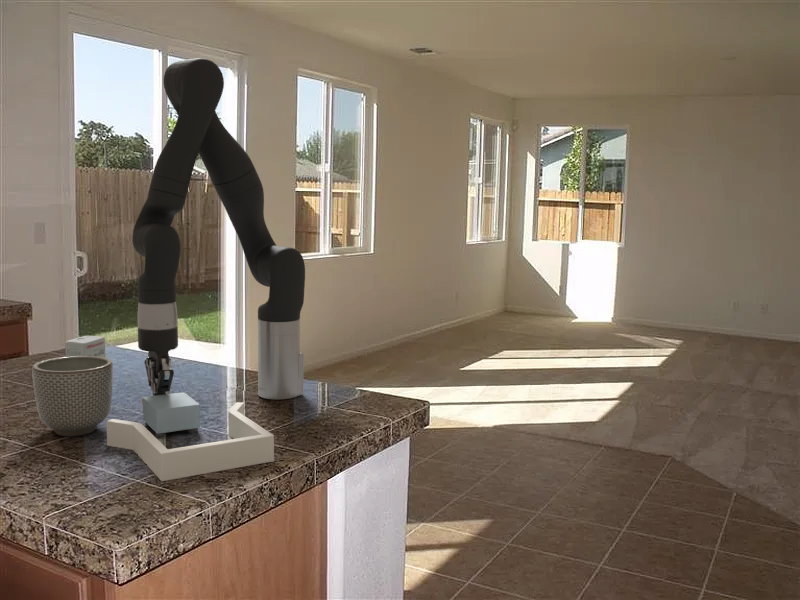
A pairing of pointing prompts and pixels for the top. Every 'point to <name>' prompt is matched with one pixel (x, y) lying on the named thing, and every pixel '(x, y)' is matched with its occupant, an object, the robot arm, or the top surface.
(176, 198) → the robot arm
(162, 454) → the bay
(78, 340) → the ink box
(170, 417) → the light blue box
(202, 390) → the top surface
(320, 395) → the top surface
